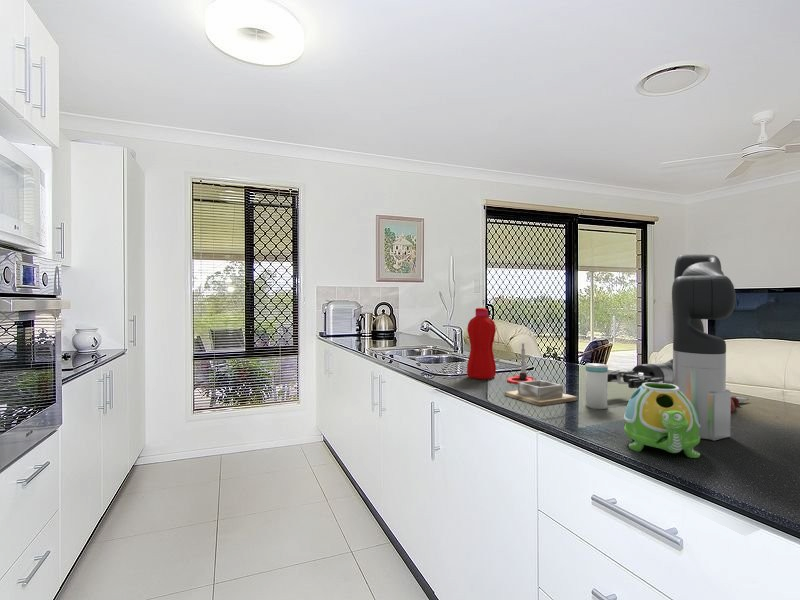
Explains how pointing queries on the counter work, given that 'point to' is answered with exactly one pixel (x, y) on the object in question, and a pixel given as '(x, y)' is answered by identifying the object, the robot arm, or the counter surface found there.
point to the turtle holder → (662, 419)
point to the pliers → (736, 401)
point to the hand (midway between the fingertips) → (615, 381)
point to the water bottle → (481, 346)
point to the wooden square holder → (540, 393)
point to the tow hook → (523, 371)
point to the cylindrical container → (596, 385)
